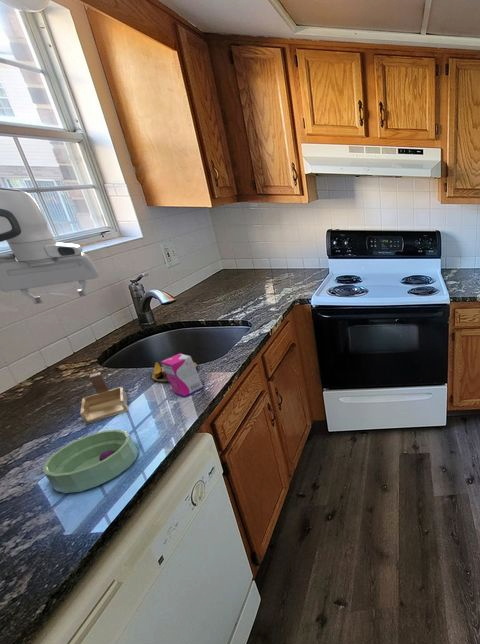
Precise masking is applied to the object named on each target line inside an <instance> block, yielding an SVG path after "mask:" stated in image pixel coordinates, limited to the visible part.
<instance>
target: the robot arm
mask: <svg viewBox="0 0 480 644" xmlns="http://www.w3.org/2000/svg"><path fill="white" fill-rule="evenodd" d="M5 241H6V242H7V244H8V246H9V248H10V250H11V252H12V253H11V254H2V255H0V291H1V292H5V293H8V292H15V291H20V292H21V295H24V296H25V297H27V298H29V299H31V300H32V302H33V304H34V305H38V304H43V299H42V298H41V296H40V295H37V296H35V295H34V294H33V293H31V289H35V288H42V287H47V286H54V285H61V284H67V283H74V282H75V283H76V282H78V284H79V286H80V285H81V288H80V289H77V294H79V295H78V296H79V297H86V296H88V294H87V292H86V286H87V280H94V279H97V278H99V276H100V271H99V270H98V268H97V266H96V265H95V262H94V261H93V260H92V258H91V257H90V256H89V255H88V254H87V253H84V252H83V248H82V246H81V245H80V244H77V243H68V242H61V241H56V239H55V236H54V235H53V234H52V233H51V231H50V230H49V228H48V222H47V220H46V217H45V216H44V214H43V211H42V210H41V208H40V207H39V204H38V203H37V202H36V200H35V199H34V197H32V195H30V193H28V192H27V191H24V190H21V189H16V188H8V187H0V243H1V242H5Z"/></svg>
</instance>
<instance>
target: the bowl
mask: <svg viewBox="0 0 480 644" xmlns="http://www.w3.org/2000/svg"><path fill="white" fill-rule="evenodd" d="M108 450H112V451H115V453H113V454H112V455H110V456H109V457H107V458H106V459H104V460H102V461H100V460H99V457H100V455H101V454H102V453H103V452H105V451H108ZM138 453H139V450H138V448H137V447H136V444H135V442H134V441H133V438H132V437H131V435H130V434H129V432H128V431H127V430H122V429H109V430H102V431H99V432H95V433H92V434H88V435H86V436H83V437H81V438H79V439H76V440H74V441H72V442H70V443H68V444H66V445H65V446H62V447H61V448H59V449H58V450H57V451H55V452H54V453H52V455H50V456H49V457H48V458H47V459H46V460H45V462H44V464H43V466H42V472H43V473H44V475H45V477H46V478H47V480H48V482H49V483H50V484H51V486H52V488H53V489H54V490H55V491H56V492H60V493H62V494H63V493H64V494H69V493H79V492H83V491H86V490H89V489H93V488H95V487H98V486H100V485H102V484H105V483H106V482H109V481H110V480H112V479H115V478H116V477H117V476H119V475H120V474H122V473H123V472H125V471H126V470H127V469H129V468H130V467H131V465H132V464H133V463H135V461H136V460H137V457H138Z"/></svg>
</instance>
